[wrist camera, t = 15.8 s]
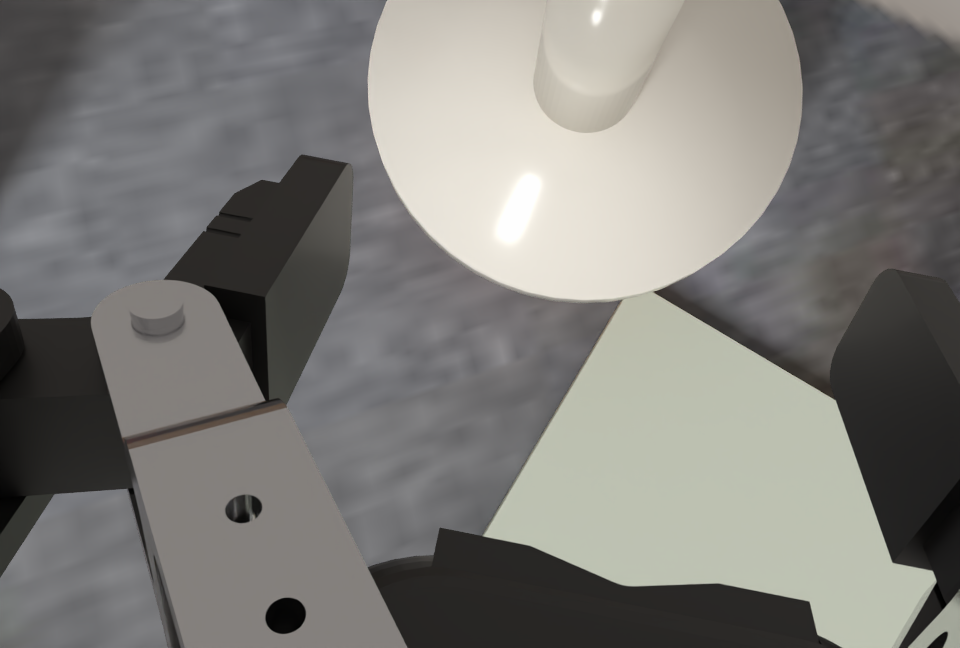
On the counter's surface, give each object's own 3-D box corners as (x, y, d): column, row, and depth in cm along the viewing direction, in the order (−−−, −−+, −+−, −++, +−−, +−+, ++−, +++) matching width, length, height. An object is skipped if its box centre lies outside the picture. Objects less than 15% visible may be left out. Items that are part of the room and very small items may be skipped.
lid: (292, 166, 27) (210, 51, 19) (507, -163, 29) (520, -404, 20) (661, 383, 26) (749, 365, 18) (860, 30, 28) (1026, -139, 20)
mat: (420, 639, 31) (419, 644, 30) (630, 284, 33) (634, 281, 32) (790, 874, 30) (799, 887, 29) (985, 494, 32) (998, 496, 31)
